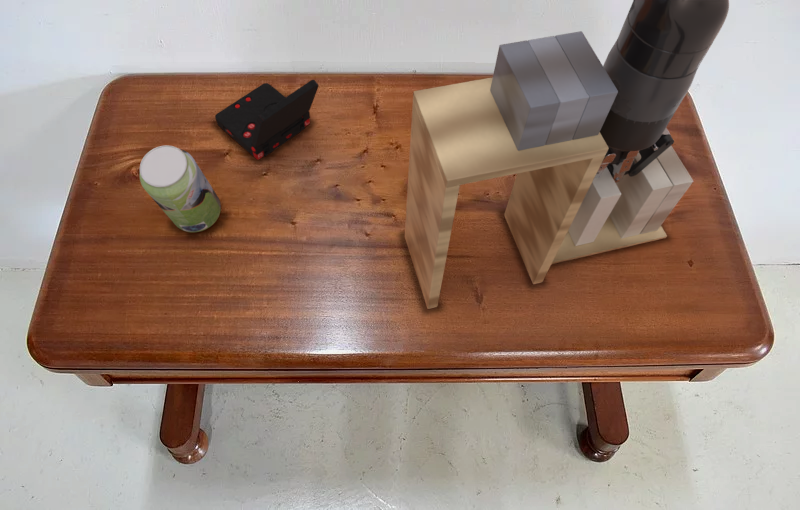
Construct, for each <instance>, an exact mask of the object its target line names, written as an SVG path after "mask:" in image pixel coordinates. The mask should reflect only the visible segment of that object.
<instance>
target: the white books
mask: <svg viewBox="0 0 800 510" xmlns="http://www.w3.org/2000/svg"><path fill="white" fill-rule="evenodd" d="M640 159H641V155H640V153H638V155H637V157H635V158H634V161H635V163H637V162H638V161H639V160H640ZM693 183H694V179H693V178H692V176H691V175H690V172H689V171H688V170H687V168H686V167H685V165H684V163H683V162H682V160H681V158H680V157H679V155H678V154H677V152H676V150H675V149H674V147H673V146H672V145H671V146H670V147H669V148H668V149H666V150H665V151H664V152H663V153H662V154H661V155H659V156H658V157H657V158H656V159H655V160H653V161H652V162H651V163H650V164H649V165H648V166H646V167H645V168H644V169H643V170H642V171H641V172H639V173H638V174H637V175H635V176H632V177H630V176H629V175H628V174H626V175H624V177H623V179H622V180H621V181H620V182H617V183H616V185H617V187H618V189H619V191H620V192H621V196H620V197H619V199H618V201H617V203H616V204H615V206H614V208H613V209H612V211H611V213H610V215H609V216H608V218H607V220H606V221H605V223H604V225H603V227H602V228H601V230H600V232H599V233H598V235H597V237H596V239H595V240H594V242H591V243H587V244H582V245H578V246H575V244H574V242H573V240H572V238H571V236H570V234H569V231H568V232H567V234H566V236H565V238H564V240H563V242H562V244H561V246H560V248H559V250H558V252H557V254H556V256H555V258H554V260H553V262H552V264H551V265H554V264H557V263H563V262H568V261H572V260H576V259H579V258H585V257H589V256H593V255H596V254H602V253H607V252H611V251H615V250H620V249H624V248H628V247H633V246H637V245H642V244H646V243H649V242H654V241H658V240H659V241H660V240H663V239H666V238H667V237H668V235H667V233H666V231H665V230H664V227H663V223H664V222H665V221H666V220H667V218H669V216H670V214H671V213H672V211H673V210H674V208H676V206H677V204H678V203H679V202H680V201H681V199H682V198H683V196H684V195H685V194H686V193H687V191H688V190H689V188H690V187H691V185H692V184H693Z"/></svg>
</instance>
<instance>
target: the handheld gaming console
mask: <svg viewBox="0 0 800 510" xmlns="http://www.w3.org/2000/svg"><path fill="white" fill-rule="evenodd" d="M318 89H319V83H318V82H317V80H315V79H311V80H309V81H308V82H306V83H305V84H303V85H301V87H299V88H298V89H296V90H294V91H293V92H292V93H290V94H288V95H287V96H285V95H283V94H282V93H281V92H280V91H279V90H277V89H276V88H275V87H274V86H272V84H270V83H268V82H264V83H262V84H261V85H259V86H257V87H255V88H254V89H253V90H251V91H249V92H248V93H247V94H245V95H243V96H242V97H241V98H239V99H238V100H236V101H234V102H232V103H231V104H229V105H228V106H227V107H225V108H223V109H222V110H221V111H219V112H218V113H216V114H215V117H214V118H215V120H216V123H217V126H218V127H219V128H220V129H222V131H224V132H225V133H226V134H227V135H228V136H229V137H231V138H232V139H233V140H234V141H235V142H236V143H237V144H238V145H240V146H241V147H242V148H243V149H244V150H245V151H246V152H248V153H249V154H250V155H251V156H252V157H254V158H255V159H256V160H260V159H262V158H263V157H267V156H268V155H270V154H271V153H273V152H275V151H276V150H277V149H278V148H280V147H281V146H283V145H284V144H286V143H287V142H288V141H290V140H291V139H293V138H294V137H295V136H297V135H298V134H299V133H301V132H302V131H304V130H305V129H306V127H307V126H308V125H310V123H311V121H310V120H311V114H310V110H311V107H312V105H313V102H314V100H315V97H316V94H317V92H318Z"/></svg>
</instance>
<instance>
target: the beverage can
mask: <svg viewBox="0 0 800 510" xmlns="http://www.w3.org/2000/svg"><path fill="white" fill-rule="evenodd" d="M139 182H140V185H141V186H142V188H143V190H144V191H145V192H146V193H147V194H148V195H149V197H150V198H151V199H152V200H153V202H155V203H156V205H157V206H158V207H159V208H160V209H161V210H162V211H163V213H164V214H165V215H166V216H167V217H168V218H169V219H170V221H171V222H172V223H173V224H174V226H176V227H177V228H178V229H179V230H181V231H183V232H186V233H199V232H203V231H205V230H207V229H209V228H210V227H212V226H213V225H214V224H215V223H216V222H217V220H218V219H219V217H220V214H221V211H222V204H221V200H220V198H219V196H218V194H217V193H216V191H215V190H214V188H213V187H212V185H211V184H210V182H209V180H208V179H207V178H206V176H205V174H204V173H203V171H202V169H201V168H200V166H199V165H198V163H197V162H196V160H195V158H194V157H193V156H192V155H191V153H190V152H188V151H186V150H185V149H182V148H179V147H177V146H173V145H168V144H167V145H161V146H157V147H154V148H152V149H151V150H149V151H148V152H147V153H145V154H144V156H143V158H142V159H141V161H140V165H139Z"/></svg>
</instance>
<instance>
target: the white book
mask: <svg viewBox="0 0 800 510" xmlns="http://www.w3.org/2000/svg"><path fill="white" fill-rule="evenodd" d="M620 196H621V192H620V191H619V189H618V187H617V185H616V183H615V181H614V179H613V178H612V176H611V174H610V172H609V170H608V168H607V167H606V168H605V170H604V171H603V173H602V174H601V176H600V177H599V178H594V180H593V181H592V183H591V185H590V187H589V190H588V192H587V194H586V196H585V198H584V200H583V202H582V204H581V206H580V208H579V210H578V212H577V214H576V216H575V218H574V220H573V222H572V224H571V226H570V228H569V230H568V231H569V234H570V236H571V238H572V240H573V242H574V244H575V246H578V245H582V244H587V243H591V242H594V240H595V239H596V237H597V235H598V233H599V232H600V230H601V228H602V227H603V225H604V223H605V221H606V220H607V218H608V216H609V215H610V213H611V211H612V209H613V208H614V206H615V204H616V203H617V201H618V199H619V197H620Z"/></svg>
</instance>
